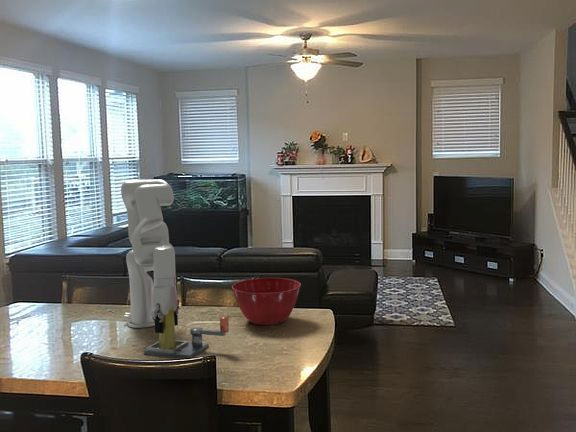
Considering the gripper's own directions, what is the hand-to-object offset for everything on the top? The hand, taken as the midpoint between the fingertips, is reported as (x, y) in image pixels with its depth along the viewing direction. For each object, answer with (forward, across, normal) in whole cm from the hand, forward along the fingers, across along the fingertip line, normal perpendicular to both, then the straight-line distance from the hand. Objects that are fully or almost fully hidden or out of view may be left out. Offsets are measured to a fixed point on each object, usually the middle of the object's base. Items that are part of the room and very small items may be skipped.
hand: (166, 328), depth 213 cm
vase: (+7, 0, 0) cm, 7 cm away
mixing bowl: (+8, -46, +20) cm, 51 cm away
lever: (+2, -5, +14) cm, 15 cm away
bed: (+8, -1, +3) cm, 8 cm away
